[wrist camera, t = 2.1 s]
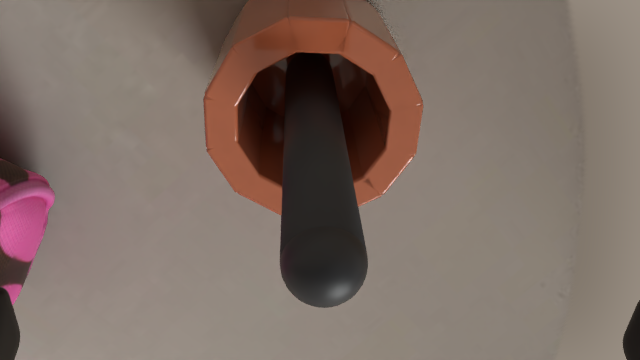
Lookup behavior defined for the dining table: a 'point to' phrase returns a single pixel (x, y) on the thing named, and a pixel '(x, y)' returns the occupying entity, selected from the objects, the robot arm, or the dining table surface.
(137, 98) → the dining table surface
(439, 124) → the dining table surface
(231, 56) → the pen cup
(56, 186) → the dining table surface
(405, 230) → the dining table surface
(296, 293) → the stylus
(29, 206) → the pencil case
